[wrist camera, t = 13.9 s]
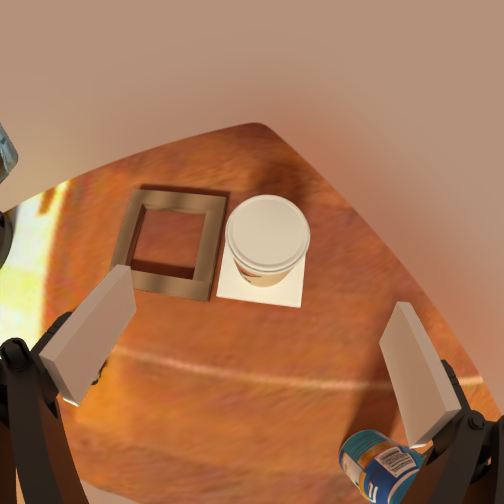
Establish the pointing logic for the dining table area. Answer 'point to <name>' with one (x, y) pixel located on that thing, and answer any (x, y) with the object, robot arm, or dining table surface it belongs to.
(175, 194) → the square frame
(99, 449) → the dining table surface
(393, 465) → the beverage bottle
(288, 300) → the white tile
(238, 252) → the coffee cup
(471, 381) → the dining table surface
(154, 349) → the dining table surface
